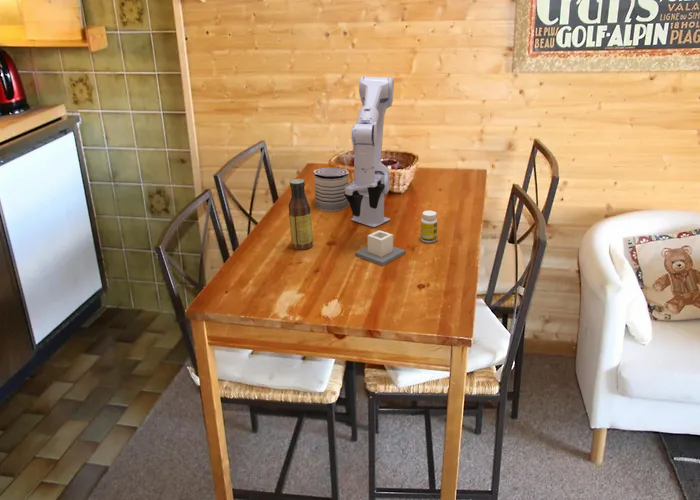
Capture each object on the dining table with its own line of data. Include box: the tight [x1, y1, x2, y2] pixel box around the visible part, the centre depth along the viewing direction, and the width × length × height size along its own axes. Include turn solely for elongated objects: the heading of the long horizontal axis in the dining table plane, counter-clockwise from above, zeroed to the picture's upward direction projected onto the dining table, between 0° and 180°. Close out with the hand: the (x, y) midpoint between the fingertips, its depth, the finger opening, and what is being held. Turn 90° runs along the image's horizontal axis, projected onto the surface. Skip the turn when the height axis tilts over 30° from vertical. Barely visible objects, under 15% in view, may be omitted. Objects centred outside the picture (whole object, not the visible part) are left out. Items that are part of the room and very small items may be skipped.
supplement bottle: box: [419, 210, 438, 243], centre depth 206 cm, size 5×5×8 cm
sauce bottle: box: [288, 178, 314, 251], centre depth 201 cm, size 7×6×20 cm
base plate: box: [354, 245, 406, 267], centre depth 199 cm, size 10×10×4 cm
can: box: [313, 167, 350, 212], centre depth 231 cm, size 11×11×12 cm
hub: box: [367, 229, 394, 257], centre depth 198 cm, size 5×5×5 cm
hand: (364, 211), depth 204 cm, fingers open, 7 cm apart
